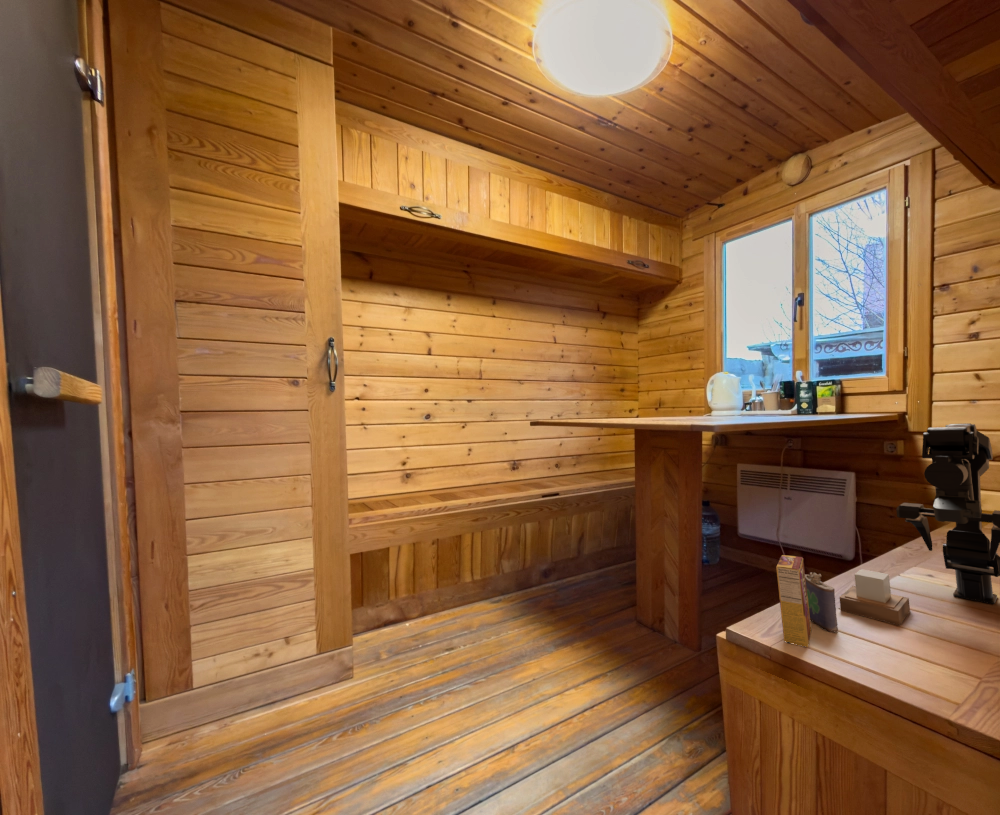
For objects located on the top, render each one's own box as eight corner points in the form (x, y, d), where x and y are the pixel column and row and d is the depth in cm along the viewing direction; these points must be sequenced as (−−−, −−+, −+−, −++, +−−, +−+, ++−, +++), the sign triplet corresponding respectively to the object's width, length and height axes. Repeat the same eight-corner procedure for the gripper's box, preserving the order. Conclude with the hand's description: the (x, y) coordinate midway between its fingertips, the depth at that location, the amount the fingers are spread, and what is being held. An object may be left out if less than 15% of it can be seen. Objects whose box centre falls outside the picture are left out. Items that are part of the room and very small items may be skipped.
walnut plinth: (853, 598, 103) (852, 584, 103) (910, 611, 95) (908, 596, 95) (840, 610, 97) (839, 596, 97) (899, 625, 89) (897, 609, 89)
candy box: (787, 625, 91) (781, 554, 92) (811, 630, 89) (805, 557, 89) (781, 642, 84) (775, 565, 85) (808, 648, 82) (801, 569, 82)
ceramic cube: (862, 590, 99) (860, 568, 100) (891, 596, 95) (889, 574, 96) (856, 596, 96) (854, 574, 97) (885, 602, 92) (883, 579, 93)
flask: (841, 633, 87) (836, 580, 87) (825, 633, 87) (820, 580, 88) (814, 613, 96) (810, 566, 96) (800, 613, 96) (796, 566, 97)
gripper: (887, 484, 96) (894, 553, 95) (1016, 492, 81) (1025, 574, 80) (899, 479, 102) (905, 543, 102) (1020, 485, 87) (1029, 561, 87)
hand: (960, 554), depth 92 cm, fingers open, 9 cm apart
